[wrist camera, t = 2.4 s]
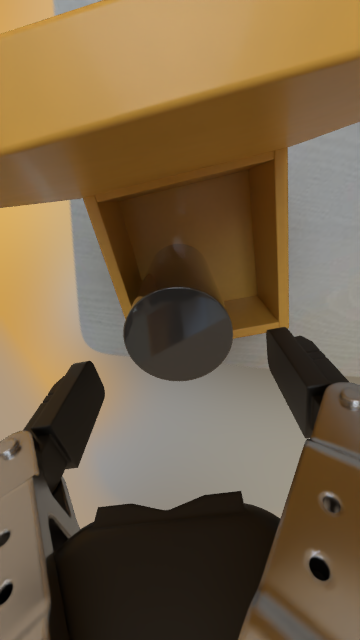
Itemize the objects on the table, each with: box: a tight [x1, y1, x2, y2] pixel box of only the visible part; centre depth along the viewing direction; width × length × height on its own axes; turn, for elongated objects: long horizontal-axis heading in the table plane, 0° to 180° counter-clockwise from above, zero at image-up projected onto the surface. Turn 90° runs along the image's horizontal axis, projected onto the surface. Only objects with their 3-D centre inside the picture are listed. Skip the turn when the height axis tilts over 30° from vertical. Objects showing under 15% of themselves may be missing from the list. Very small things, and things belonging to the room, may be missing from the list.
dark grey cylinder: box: [123, 244, 233, 381], centre depth 18 cm, size 6×6×12 cm
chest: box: [83, 147, 289, 339], centre depth 20 cm, size 13×13×7 cm
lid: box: [0, 0, 360, 208], centre depth 8 cm, size 14×13×1 cm
